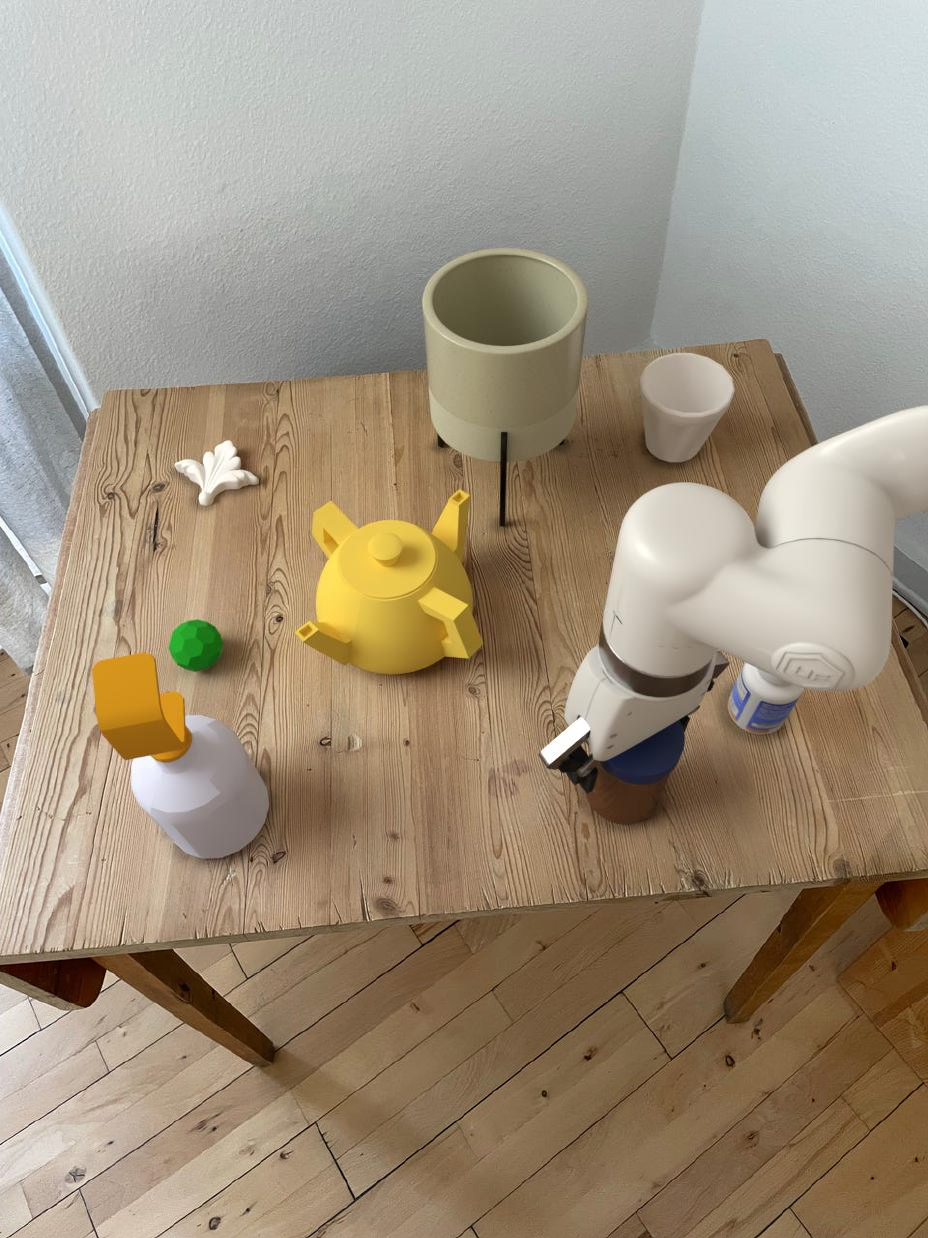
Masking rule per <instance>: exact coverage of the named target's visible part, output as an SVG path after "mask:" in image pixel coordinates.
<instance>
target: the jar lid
mask: <svg viewBox="0 0 928 1238" xmlns="http://www.w3.org/2000/svg"><path fill="white" fill-rule="evenodd" d="M685 744H686V735H685V732H684V729H683V726H682V724H681V722H680V720H677V721H676V722H674V723H672V724H671V725H669V726H667V727H666V728H664V729H662V730H661V731H659V732H657V733H655V734H654V735H652V736H650V737H648V738H647V739H645V740H643V741H642V742H640V743H638V744H636V745H635V746H633V747H631V748H629V749H627V750H626V751H624V752H622V753H620V754H618V755H617V756H615V757H613V758H611V759H608V760H606V761H600V764H601V765H602V766H603V768H604V769H605V770H606V771H607V772H608V773H610V774H611V775H612V776H614V777H615V778H617V779H619V780H621V781H623V782H626V783H630V784H635V785H647V784H652V783H656V782H658V781H661V780H663V779H664V778H666V777H667V776H668V775H669V774H670V775H671V774H672V773H673V772H674V771H675V769H676V767H678V763H679V762H680V759H681V757H682V755H683V753H684V749H685Z"/></svg>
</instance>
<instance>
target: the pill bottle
mask: <svg viewBox="0 0 928 1238" xmlns="http://www.w3.org/2000/svg"><path fill="white" fill-rule="evenodd" d="M804 690H805V689H804V688H800V687H798V686H795V685H793V684H791V683H789V682H787V681H785V680H782V679H780V678H777V677H775V676H773V675H771V674H769V673H766V672H764V671H762V670H760V669H758V668H756V667H754V666H752V665H750V664H748V663H746V662H744V664H743V665H742V668H741V670H740V672H739V674H738V676H737V678H736V681H735V682H734V685H733V687H732V689H731V692H730V694H729V696H728V699H727V711H728V714H729V716H730V718H731V719H732V721H733V722H734V723H735V724H736V725H737V727H739V728H740V729H742V730H743V731H745V732H747V733H749V734H753V735H760V736H763V735H769V734H772V733H774V732H777V731H778V730H779V729H781V728H782V727H783V725H784V724H785V722H786V721H787V720H788V717H789V716H790V714H791V713H792V711H793V710H794V707H795V706H796V704H797V703H798V701H799V699H800V697H801V696H802V694H803V693H804Z"/></svg>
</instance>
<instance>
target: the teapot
mask: <svg viewBox="0 0 928 1238" xmlns="http://www.w3.org/2000/svg"><path fill="white" fill-rule="evenodd" d="M470 501H471V495H470V494H469V493H467V492H465V491H463V490H462V489H461V488H459V489H457V490H456V492H454V493H453V494H452V495H451V496H450V497H449V498H448V499H447V503H446V504H445V507H444V509H443V510H442V512H441V514H440V516H439V518H438V520H437V521H436V524H435V525H434V528H433V530H432V531H431V532H430V531H428V530H427V529H425V528H423V527H421V526H419V525H417V524H414V523H412V522H408V521H404V520H400V519H399V520H398V519H383V520H378V521H373V522H370V523H367V524H365V525H363V526H361V527H359V528H358V527H357V526H356V525H355V524H354V523H353V522H352V521H351V520H350V519H349V517H347V515H346V514H344V513H343V511H342V510H341V509H340V508H339V507H338V506H337V505H336V504H335V503H334V502H333V501H332V500H329V501H328V502H326V503H325V504H324V505H322V506H321V507H319V508H318V509H316V510H315V511H314V512H313V513H312V514H313V516H312V526H311V535H312V537H313V539H314V540H315V542H316V543H317V544H318V546H319V547H320V549H321V550H322V552H323V553H324V555H325V556H326V558H327V559H328V560H327V561H326V563H325V564H324V567H323V569H322V571H321V574H320V577H319V580H318V583H317V589H316V594H315V613H316V619H317V621H311V620H308V621H307V622H305V623H304V624H303V625H301V626H300V627H299V628H298V629H296V630H295V631H293V633H294V635H295V636H296V637H297V638H298V639H299V640H300V641H301V642H303V643H304V644H305V645H307V646H309V647H310V648H312V649H314V650H316V651H317V652H319V653H321V654H323V655H325V656H326V657H328V658H330V659H331V660H334V661H335V662H337V663H338V664H341V665H342V666H346V665H348V664H350V665H352V666H354V667H355V668H357V669H360V670H363V671H366V672H370V673H372V674H379V675H380V674H381V675H402V674H408V673H413V672H417V671H420V670H422V669H425V668H427V667H430V666H432V665H434V664H435V663H437V662H439V661H440V660H442V659H443V658H445V657H449V658H458V659H459V658H460V659H468V660H469V659H470V658H471V657H472V656H473V655H474V654H475V653H476V652H477V651H478V649H479V648H481V646H483V644H484V641H483V639H482V636H481V634H480V631H479V628H478V626H477V623H476V621H475V618H474V616H473V613H474V611H473V610H474V597H473V588H472V586H471V582H470V579H469V576H468V574H467V571H466V570H465V568H464V565H463V562H464V556H465V555H464V554H465V547H466V539H467V537H466V536H467V529H468V520H469V509H470Z"/></svg>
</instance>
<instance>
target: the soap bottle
mask: <svg viewBox="0 0 928 1238" xmlns="http://www.w3.org/2000/svg"><path fill="white" fill-rule="evenodd" d="M157 668H158V667H157V659H156V658H155V656H153V654H151V653H148V652H144V651H143V652H139V653H133V654H128V655H122V656H117V657H111V658H106V659H101V660H99V661H98V662H95V663H94V665H93V666H92V669H91V672H92V684H93V685H92V686H93V695H94V696H93V697H94V705H95V714H96V715H95V716H96V720H97V721H96V722H97V724H98V728H99V731H100V733H101V734H102V736H103V737H104V739H105V740H106V741H107V742H108V743H109V745H110V746H111V747H112V748H113V749H114V750H115V751H116V753H117V754H118V755H119V756H120V757H121V759H122V760H125V761H129V760H132V762H131V767H130V773H131V774H130V788H131V791H132V793H133V795H134V797H135V800H136V802H137V804H138V806H139V807H140V808H141V809H142V810H143V811H144V812H145V813H146V814H147V815H148V816H149V818H151V820H153V821H154V823H155V824H156V825H157V826H158V827H159V828H160V829H161V830H162V831H163V832H164V833H165V834H166V836H167V837H168V838H169V839H170V840H171V841H172V842H173V844H175V845H176V846H177V847H179V849H181V850H182V851H183V852H184V854H187V855H190V856H192V857H195V858H199V859H202V860H203V859H204V860H205V859H207V860H209V859H222V858H225V857H227V856H230V855H232V854H235V853H238V852H240V851H241V850H242V849H244V848H245V847H246V846H247V845H249V844H250V843H251V842H252V841H254V840H255V839H256V837H257V835H258V834H259V833H260V831H261V830H262V828H263V827H264V825H265V823H266V819H267V817H268V812H269V808H270V801H269V800H270V799H269V790H268V788H267V786H266V784H265V782H264V780H263V778H262V777H261V775H260V772H259V771H258V769H257V767H256V766H255V764H254V762H253V760H252V759H251V757H250V755H249V753H248V752H247V749H246V748H245V746H244V744H243V743H242V740H241V739H240V737H239V736H238V734H237V732H236V731H235V730H233V728H231V727H230V726H229V725H228V724H226V723H225V722H224V721H222V720H219V719H215V718H212V717H209V716H206V715H202V714H188V715H186V701H185V698H184V696H183V695H182V693H181V692H178V691H176V690H173V691H168V692H163V693H160V686H159V677H158V669H157Z"/></svg>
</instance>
